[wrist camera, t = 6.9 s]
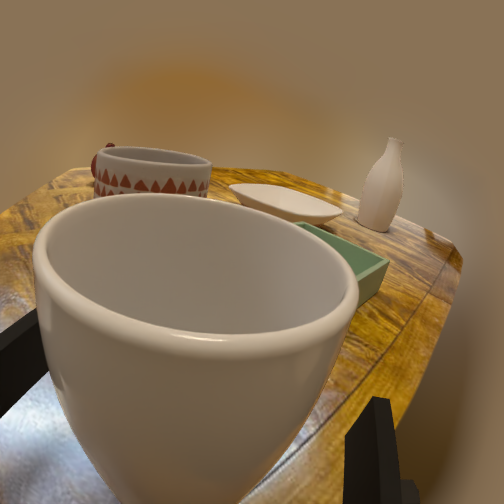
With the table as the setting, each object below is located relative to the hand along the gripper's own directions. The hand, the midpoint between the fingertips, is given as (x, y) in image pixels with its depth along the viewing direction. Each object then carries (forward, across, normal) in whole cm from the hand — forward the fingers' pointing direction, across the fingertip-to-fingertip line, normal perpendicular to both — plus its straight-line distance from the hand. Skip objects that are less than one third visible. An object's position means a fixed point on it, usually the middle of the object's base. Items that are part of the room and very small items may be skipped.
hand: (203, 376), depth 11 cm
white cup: (-3, 0, -8) cm, 9 cm away
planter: (+24, -16, -8) cm, 30 cm away
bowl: (+56, -2, -8) cm, 57 cm away
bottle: (+77, +22, -8) cm, 80 cm away
